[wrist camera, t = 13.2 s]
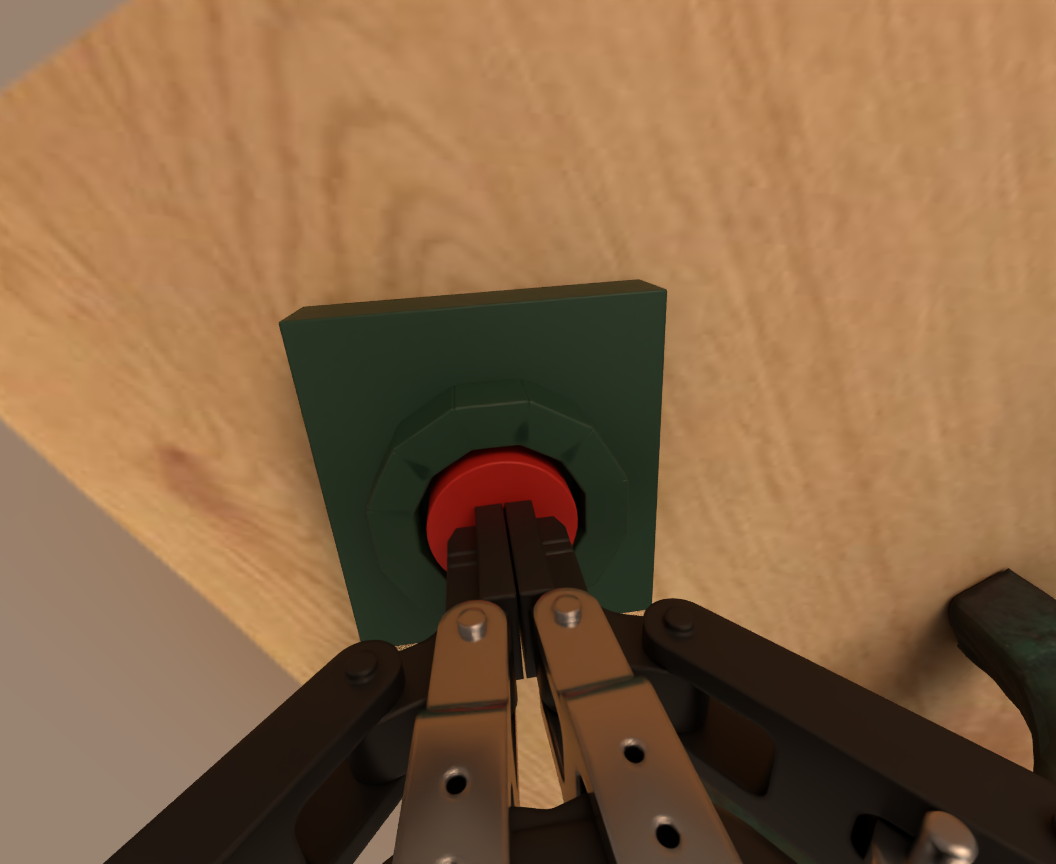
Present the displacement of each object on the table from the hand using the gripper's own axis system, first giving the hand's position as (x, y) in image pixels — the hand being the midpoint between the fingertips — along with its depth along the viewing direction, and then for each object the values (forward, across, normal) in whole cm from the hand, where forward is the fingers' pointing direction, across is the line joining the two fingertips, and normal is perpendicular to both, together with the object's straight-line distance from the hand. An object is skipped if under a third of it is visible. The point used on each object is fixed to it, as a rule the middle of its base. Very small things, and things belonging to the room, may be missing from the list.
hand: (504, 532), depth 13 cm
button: (+2, 0, 0) cm, 2 cm away
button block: (+4, 0, 0) cm, 4 cm away
